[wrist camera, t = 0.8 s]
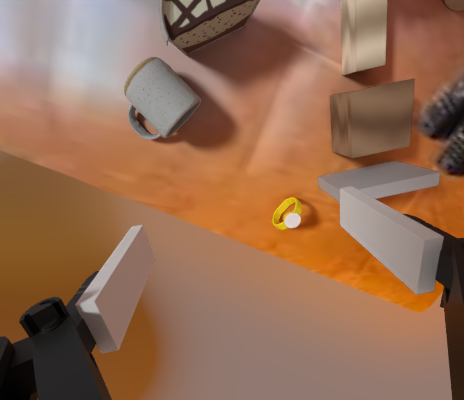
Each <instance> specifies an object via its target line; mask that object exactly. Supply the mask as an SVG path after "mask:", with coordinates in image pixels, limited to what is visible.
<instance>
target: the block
mask: <svg viewBox="0 0 464 400" xmlns="http://www.w3.org/2000/svg"><path fill="white" fill-rule="evenodd" d="M414 81H415V79H410V80H404V81H398V82H392V83H386V84H381V85H377V86H374V87H373V88H368V89H363V90H359V91H353V92H346V93H340V94H335V95H330V109H331V131H332V152H335V153H338V154H341V155H344V156H347V157H350V158H356V157H361V156H366V155H370V154H375V153H380V152H384V151H389V150H394V149H398V148H403V147H408V146H410V137H411V123H412V109H413V95H414Z"/></svg>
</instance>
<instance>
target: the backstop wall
mask: <svg viewBox="0 0 464 400" xmlns="http://www.w3.org/2000/svg"><path fill="white" fill-rule="evenodd" d="M439 178H440V172H437V171H433V170H430V169H426V168H422V167H418V166H414V165H411V164H407V163H403V162H399V161H396V160H394V161H389V162H385V163H380V164H375V165H371V166H366V167H361V168H357V169H352V170H347V171H343V172H338V173H333V174H329V175H324V176H319V177H318V185H319V188H321V189H322V190H323V191H325V192H326V193H327V194H329V195H330V196H332V197H333V198H334V199H336V200H337V201H339V202H340V188H344V187H350V186H352V187H354V188H356V189H358V190H359V191H361V192H363V193H365V194H367V195H368V196H370V197H372V198H374V199H377V198H382V197H386V196H391V195H396V194H400V193H405V192H410V191H415V190H419V189H424V188H429V187H433V186H438V185H439Z"/></svg>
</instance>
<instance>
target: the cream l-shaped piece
mask: <svg viewBox="0 0 464 400" xmlns="http://www.w3.org/2000/svg"><path fill="white" fill-rule="evenodd" d="M386 29H387V0H341V35H342V71H343V75H347V74H351V73H356V72H360V71H365V70H369V69H373V68H376V67H380V66H383V65H385V61H386Z"/></svg>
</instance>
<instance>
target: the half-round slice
mask: <svg viewBox="0 0 464 400" xmlns="http://www.w3.org/2000/svg"><path fill="white" fill-rule="evenodd" d="M259 1H260V0H160V23H161V29H162V33H163V37H164V40H165V42H166V45H168V41H170V42H171V43H172V44H174V45H175V46H176V47H177V48H178V49H179V50H180V51H182V52H183V53H184V54H185V55H186V56H187V55H189V54H191V53H193V52H195V51H197V50H199V49H201V48H203V47H205V46H207V45H209V44H211V43H213V42H215V41H218V40H220V39H222V38H224V37H226V36H228V35H230V34H232V33H234V32H236V31H238V30H240V29H242V28H244V27H246V25H247V23H248V21H249V20H250V18H251V16H252V14H253V12H254V10H255V9H256V7H257V5H258V3H259Z"/></svg>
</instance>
